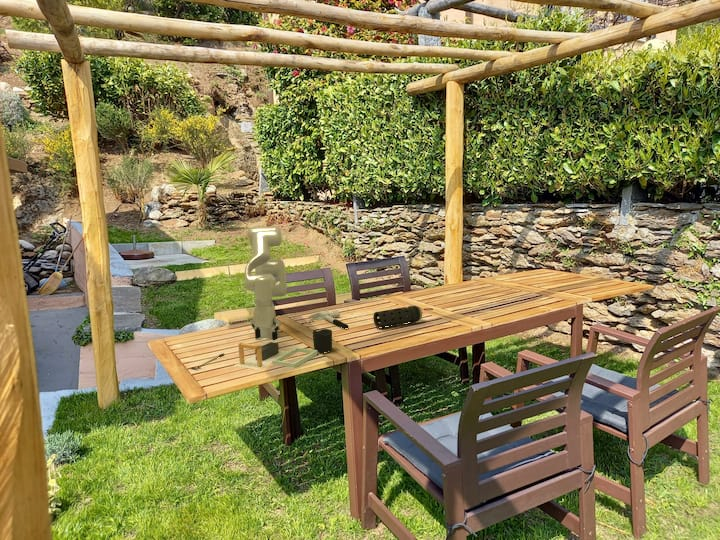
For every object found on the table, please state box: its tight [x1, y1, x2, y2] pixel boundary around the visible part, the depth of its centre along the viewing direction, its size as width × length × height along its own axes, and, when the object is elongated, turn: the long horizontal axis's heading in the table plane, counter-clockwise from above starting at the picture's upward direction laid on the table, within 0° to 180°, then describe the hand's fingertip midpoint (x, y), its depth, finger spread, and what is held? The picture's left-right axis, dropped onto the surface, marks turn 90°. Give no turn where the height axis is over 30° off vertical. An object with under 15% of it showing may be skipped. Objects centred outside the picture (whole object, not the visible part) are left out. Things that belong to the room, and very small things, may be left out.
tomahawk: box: [191, 353, 225, 371], centre depth 220 cm, size 21×7×1 cm, turn 156°
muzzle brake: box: [372, 305, 423, 329], centre depth 273 cm, size 10×28×10 cm, turn 117°
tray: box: [271, 347, 319, 369], centre depth 219 cm, size 20×12×2 cm, turn 155°
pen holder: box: [312, 328, 333, 353], centre depth 231 cm, size 9×9×10 cm
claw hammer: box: [307, 310, 349, 330], centre depth 280 cm, size 5×22×30 cm
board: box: [233, 349, 290, 371], centre depth 221 cm, size 26×14×1 cm, turn 155°
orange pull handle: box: [237, 342, 262, 367], centre depth 212 cm, size 2×11×9 cm, turn 65°
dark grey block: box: [254, 341, 280, 361], centre depth 224 cm, size 14×4×5 cm, turn 155°
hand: (266, 338), depth 222 cm, fingers open, 9 cm apart
